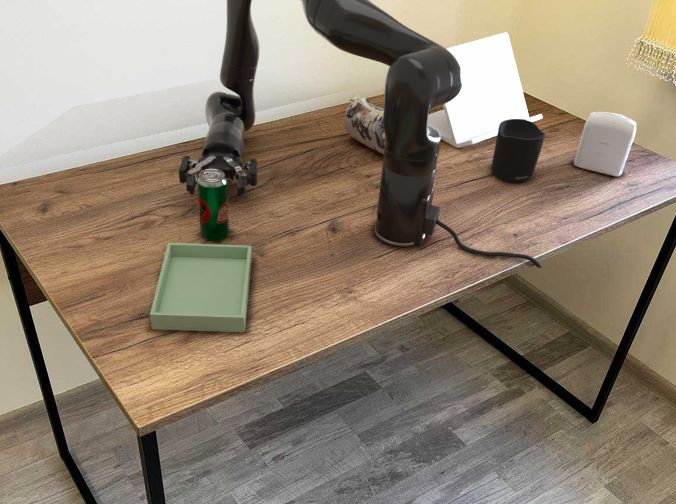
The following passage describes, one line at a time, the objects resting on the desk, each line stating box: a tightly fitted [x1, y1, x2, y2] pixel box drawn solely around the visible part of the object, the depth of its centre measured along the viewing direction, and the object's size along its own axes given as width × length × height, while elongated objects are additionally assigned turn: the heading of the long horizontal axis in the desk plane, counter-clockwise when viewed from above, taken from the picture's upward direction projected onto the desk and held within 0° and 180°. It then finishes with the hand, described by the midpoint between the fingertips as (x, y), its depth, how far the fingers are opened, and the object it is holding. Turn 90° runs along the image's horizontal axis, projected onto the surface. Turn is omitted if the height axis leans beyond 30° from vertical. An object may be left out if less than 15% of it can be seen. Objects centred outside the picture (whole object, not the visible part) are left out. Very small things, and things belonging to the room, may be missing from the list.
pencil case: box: [343, 93, 385, 155], centre depth 157 cm, size 22×8×10 cm, turn 43°
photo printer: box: [573, 111, 637, 177], centre depth 156 cm, size 10×4×12 cm, turn 63°
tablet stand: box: [427, 32, 543, 149], centre depth 167 cm, size 18×25×17 cm
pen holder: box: [491, 119, 547, 184], centre depth 153 cm, size 9×9×10 cm
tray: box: [149, 242, 253, 333], centre depth 120 cm, size 19×14×3 cm
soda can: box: [196, 169, 230, 242], centre depth 130 cm, size 5×5×12 cm
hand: (215, 191), depth 132 cm, fingers open, 8 cm apart
